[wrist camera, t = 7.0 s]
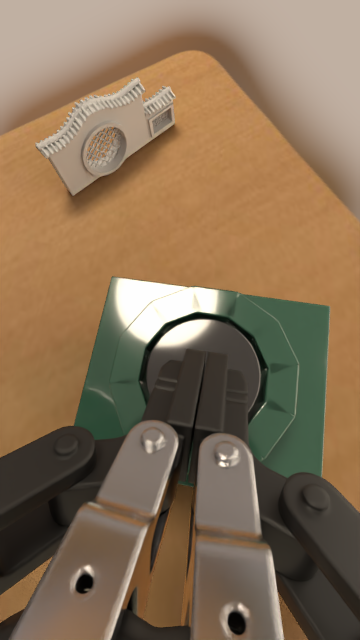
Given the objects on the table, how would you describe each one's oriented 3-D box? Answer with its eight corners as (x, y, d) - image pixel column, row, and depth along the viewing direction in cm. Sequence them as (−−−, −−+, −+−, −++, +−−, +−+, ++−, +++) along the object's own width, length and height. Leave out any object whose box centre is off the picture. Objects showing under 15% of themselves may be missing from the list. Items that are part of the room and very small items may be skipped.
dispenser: (112, 444, 21) (38, 468, 12) (139, 318, 24) (97, 254, 14) (277, 477, 20) (345, 535, 11) (289, 341, 22) (352, 287, 13)
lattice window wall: (167, 115, 29) (159, 43, 24) (180, 126, 29) (174, 55, 23) (62, 189, 28) (25, 131, 22) (73, 202, 27) (39, 146, 22)
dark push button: (146, 420, 14) (135, 421, 12) (164, 326, 15) (157, 310, 13) (245, 439, 14) (254, 444, 11) (256, 341, 15) (266, 326, 12)
